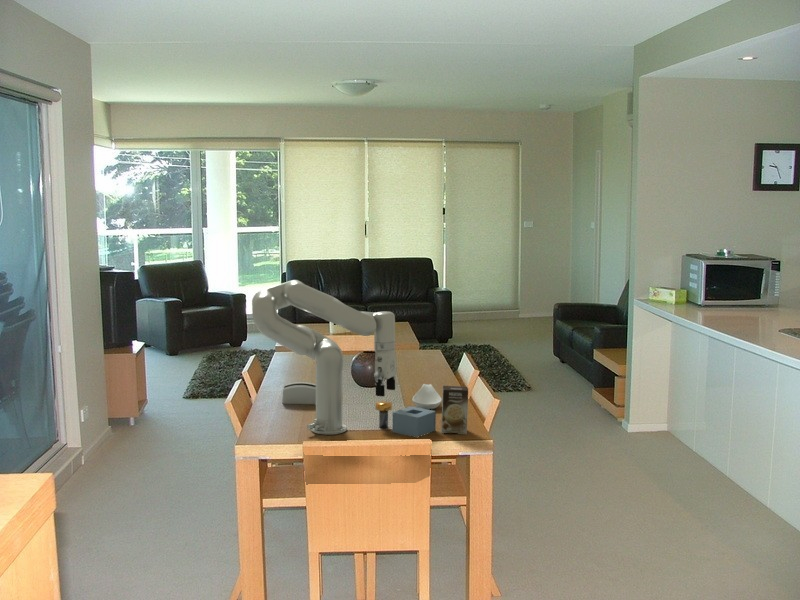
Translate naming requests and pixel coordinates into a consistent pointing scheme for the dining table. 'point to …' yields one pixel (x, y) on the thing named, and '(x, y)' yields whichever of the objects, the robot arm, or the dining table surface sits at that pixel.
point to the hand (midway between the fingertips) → (385, 392)
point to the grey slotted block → (299, 393)
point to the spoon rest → (427, 398)
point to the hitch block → (414, 421)
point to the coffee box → (454, 409)
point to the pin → (383, 413)
